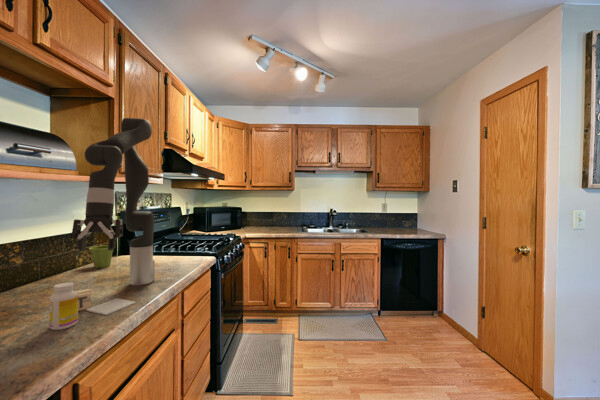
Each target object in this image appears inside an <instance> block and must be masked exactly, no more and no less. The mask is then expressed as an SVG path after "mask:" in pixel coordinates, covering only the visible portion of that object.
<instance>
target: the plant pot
mask: <svg viewBox="0 0 600 400" xmlns="http://www.w3.org/2000/svg"><path fill="white" fill-rule="evenodd" d="M88 249H89V250H90V253H91V257H92V262H93V266H94V268H95V269H99V268H101V269H103V268H108V267H110V266H111V263H112V258H113V252H114V250H108V245H97V246H91V247H89V248H88Z"/></svg>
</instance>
